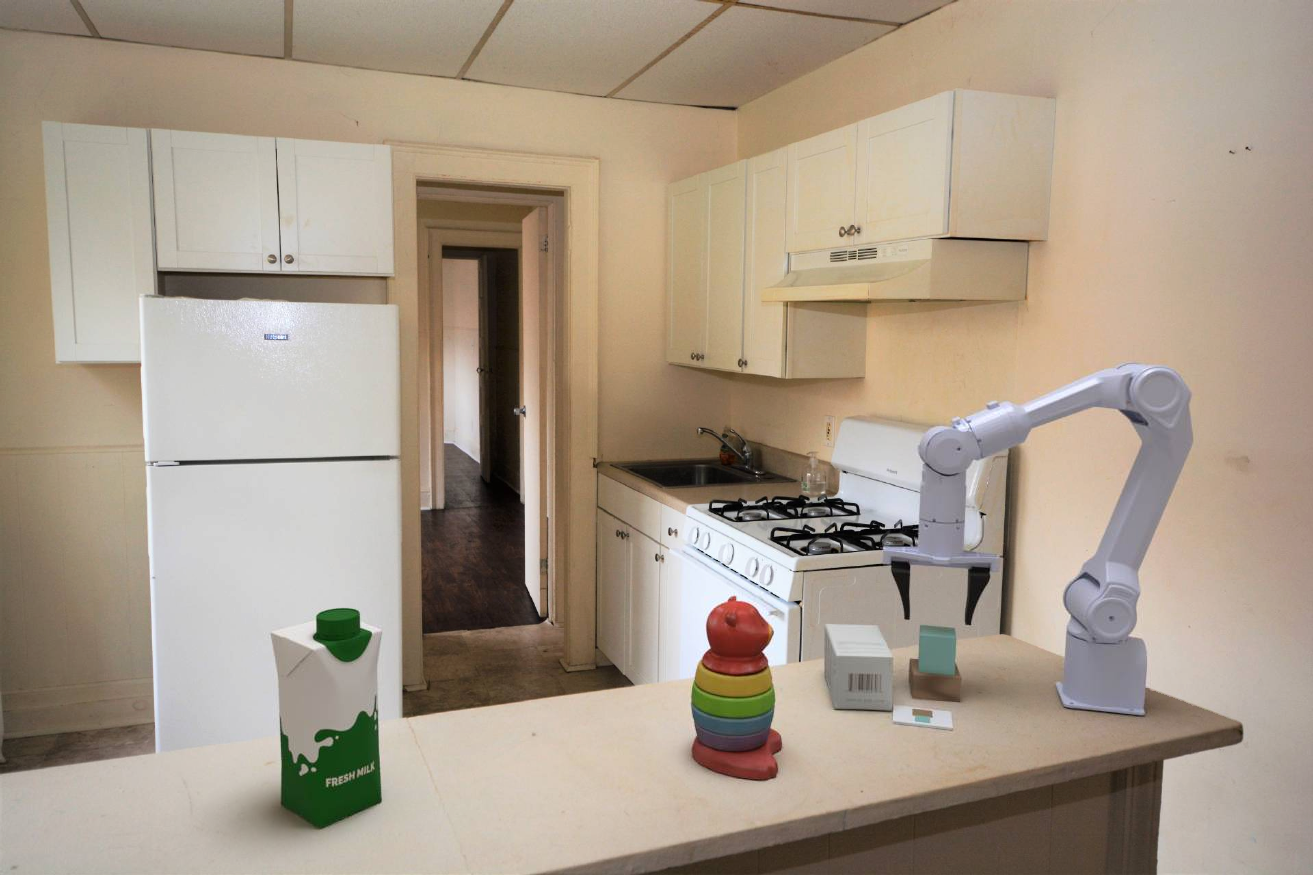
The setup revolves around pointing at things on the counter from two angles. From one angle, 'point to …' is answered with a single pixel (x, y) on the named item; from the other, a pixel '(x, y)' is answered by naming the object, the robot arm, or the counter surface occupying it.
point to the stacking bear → (735, 695)
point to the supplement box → (858, 667)
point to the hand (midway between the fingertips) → (937, 620)
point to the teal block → (937, 650)
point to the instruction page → (922, 717)
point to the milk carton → (328, 716)
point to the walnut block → (934, 684)
